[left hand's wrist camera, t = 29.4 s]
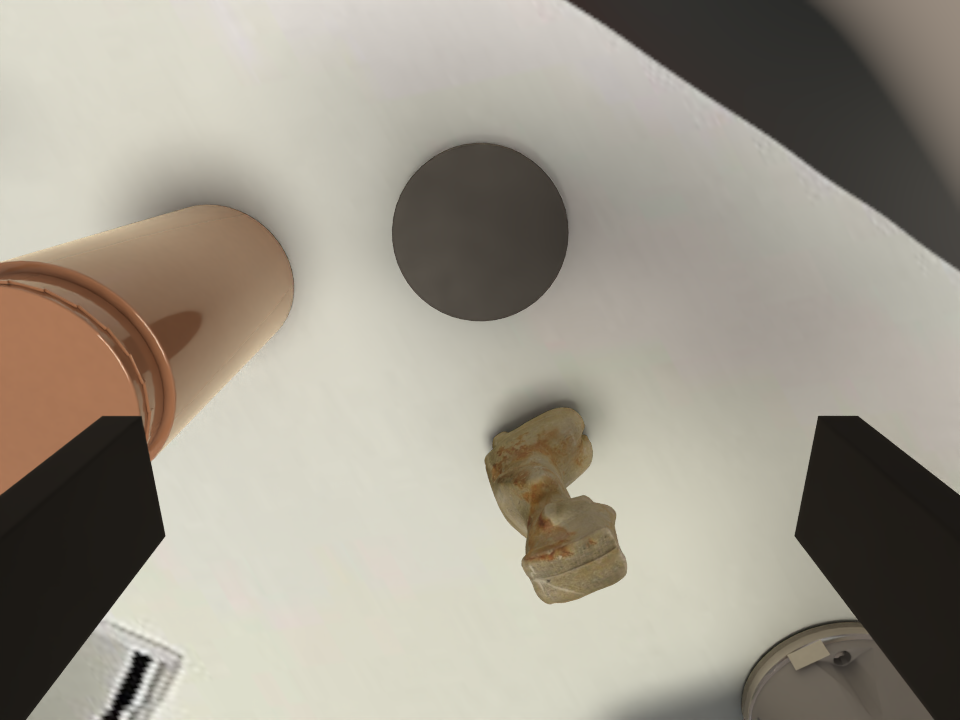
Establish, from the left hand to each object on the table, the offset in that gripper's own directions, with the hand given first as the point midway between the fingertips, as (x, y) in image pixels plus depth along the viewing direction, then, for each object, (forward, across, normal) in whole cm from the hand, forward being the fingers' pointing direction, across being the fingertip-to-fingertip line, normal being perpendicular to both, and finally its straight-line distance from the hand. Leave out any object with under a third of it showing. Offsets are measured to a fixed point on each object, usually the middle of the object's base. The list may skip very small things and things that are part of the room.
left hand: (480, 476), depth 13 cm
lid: (+28, 0, 0) cm, 29 cm away
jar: (+30, +17, +3) cm, 35 cm away
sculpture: (+30, -4, +15) cm, 34 cm away
